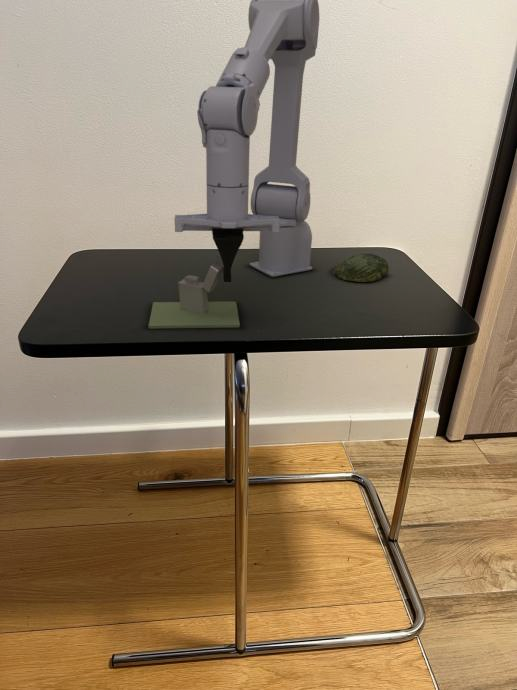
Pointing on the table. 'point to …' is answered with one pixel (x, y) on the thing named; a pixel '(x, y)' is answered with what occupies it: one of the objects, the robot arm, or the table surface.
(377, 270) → the green rounded dome
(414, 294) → the table surface
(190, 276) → the lighter
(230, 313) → the mat
